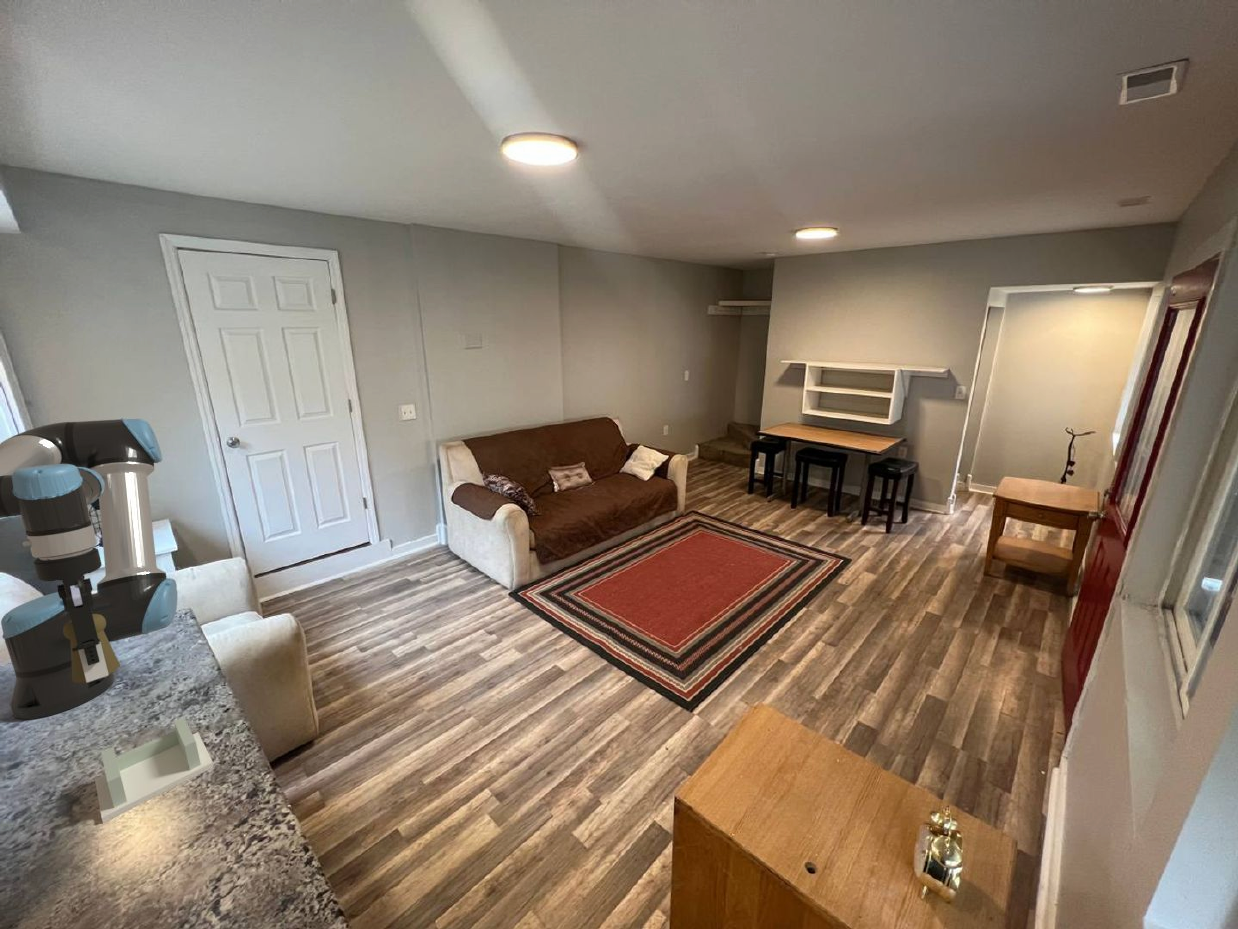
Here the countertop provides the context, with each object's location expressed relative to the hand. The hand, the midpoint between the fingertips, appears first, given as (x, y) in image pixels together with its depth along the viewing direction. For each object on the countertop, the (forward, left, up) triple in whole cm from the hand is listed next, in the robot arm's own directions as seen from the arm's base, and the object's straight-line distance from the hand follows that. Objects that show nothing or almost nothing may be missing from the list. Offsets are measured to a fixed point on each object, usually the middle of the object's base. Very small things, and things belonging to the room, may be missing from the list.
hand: (96, 671), depth 88 cm
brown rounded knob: (0, 0, 0) cm, 0 cm away
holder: (+14, +4, -17) cm, 22 cm away
